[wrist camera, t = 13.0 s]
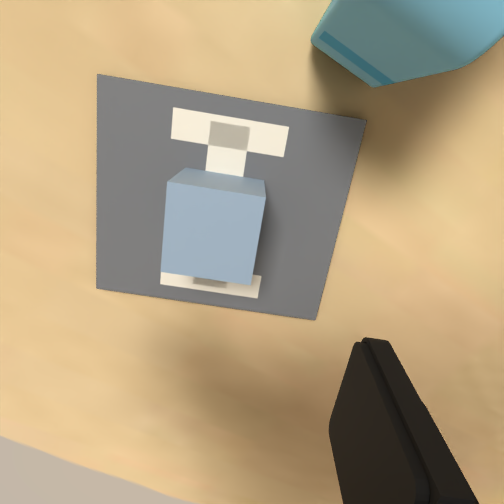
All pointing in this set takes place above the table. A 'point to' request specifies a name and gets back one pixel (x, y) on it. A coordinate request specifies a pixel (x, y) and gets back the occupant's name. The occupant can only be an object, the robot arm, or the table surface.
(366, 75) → the data package
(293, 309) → the letter mat
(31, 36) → the table surface
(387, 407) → the robot arm
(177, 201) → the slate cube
